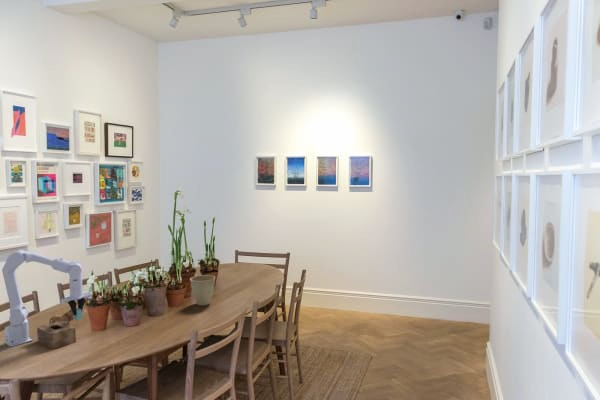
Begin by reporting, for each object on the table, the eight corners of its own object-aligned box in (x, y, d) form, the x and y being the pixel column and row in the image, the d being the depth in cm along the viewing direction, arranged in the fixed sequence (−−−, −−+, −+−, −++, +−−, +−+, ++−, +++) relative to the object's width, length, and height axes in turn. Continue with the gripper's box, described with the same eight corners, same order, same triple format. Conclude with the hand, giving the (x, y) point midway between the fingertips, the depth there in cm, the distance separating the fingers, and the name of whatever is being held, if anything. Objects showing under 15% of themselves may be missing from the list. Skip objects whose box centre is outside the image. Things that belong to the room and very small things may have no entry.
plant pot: (186, 306, 263) (185, 280, 262) (197, 299, 278) (197, 274, 277) (209, 308, 260) (208, 281, 259) (219, 300, 274) (219, 275, 273)
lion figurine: (77, 323, 237) (76, 306, 237) (77, 326, 233) (77, 309, 232) (46, 328, 230) (45, 311, 230) (45, 331, 225) (45, 314, 225)
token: (77, 320, 218) (77, 310, 218) (73, 318, 221) (72, 308, 221) (81, 319, 220) (81, 309, 219) (77, 317, 223) (76, 307, 223)
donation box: (51, 348, 202) (50, 334, 201) (37, 341, 212) (37, 326, 212) (75, 341, 210) (75, 327, 210) (61, 334, 221) (61, 320, 220)
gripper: (64, 291, 211) (65, 319, 212) (94, 285, 222) (95, 312, 223) (58, 289, 216) (59, 316, 217) (87, 283, 227) (89, 309, 228)
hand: (77, 314), depth 220 cm, fingers closed on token, 2 cm apart
